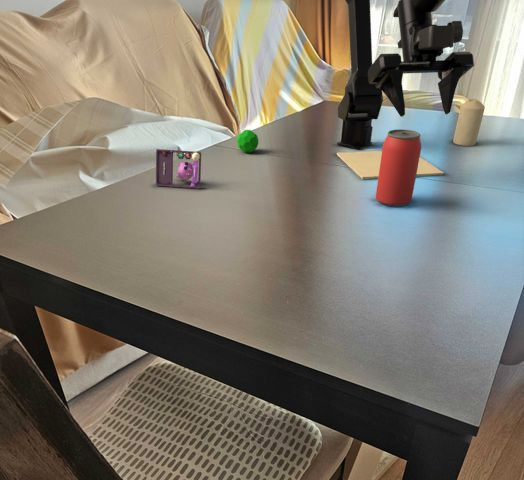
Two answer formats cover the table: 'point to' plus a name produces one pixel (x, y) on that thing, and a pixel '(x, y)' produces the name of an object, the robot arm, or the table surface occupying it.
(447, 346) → the table surface
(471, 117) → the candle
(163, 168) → the packaged toy box
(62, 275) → the table surface
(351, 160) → the centre mat
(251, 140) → the polyhedron
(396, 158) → the beer can
